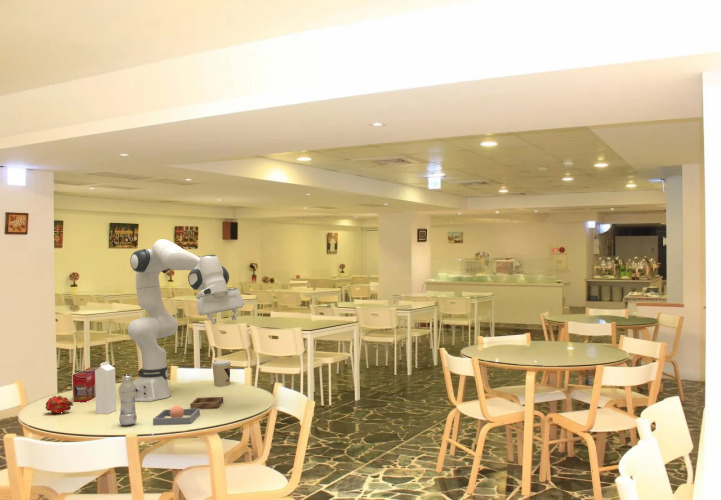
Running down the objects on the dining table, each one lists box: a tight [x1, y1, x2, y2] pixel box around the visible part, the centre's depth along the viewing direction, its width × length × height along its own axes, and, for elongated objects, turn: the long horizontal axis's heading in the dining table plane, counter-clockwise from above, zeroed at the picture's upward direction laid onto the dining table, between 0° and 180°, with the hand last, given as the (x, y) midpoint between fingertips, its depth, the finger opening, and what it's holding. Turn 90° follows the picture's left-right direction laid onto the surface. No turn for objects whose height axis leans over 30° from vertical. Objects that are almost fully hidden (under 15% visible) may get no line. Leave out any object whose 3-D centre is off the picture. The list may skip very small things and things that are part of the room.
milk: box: [95, 360, 117, 415], centre depth 278 cm, size 6×6×22 cm
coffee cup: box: [212, 360, 231, 388], centre depth 329 cm, size 9×9×12 cm
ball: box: [169, 405, 185, 418], centre depth 261 cm, size 6×6×6 cm
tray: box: [189, 396, 224, 410], centre depth 284 cm, size 12×12×2 cm
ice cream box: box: [71, 366, 100, 403], centre depth 309 cm, size 20×6×13 cm, turn 1°
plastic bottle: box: [118, 374, 138, 426], centre depth 255 cm, size 6×7×20 cm
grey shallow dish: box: [152, 408, 201, 426], centre depth 261 cm, size 15×15×2 cm
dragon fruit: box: [44, 395, 74, 414], centre depth 278 cm, size 8×8×12 cm
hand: (224, 321), depth 268 cm, fingers open, 8 cm apart
